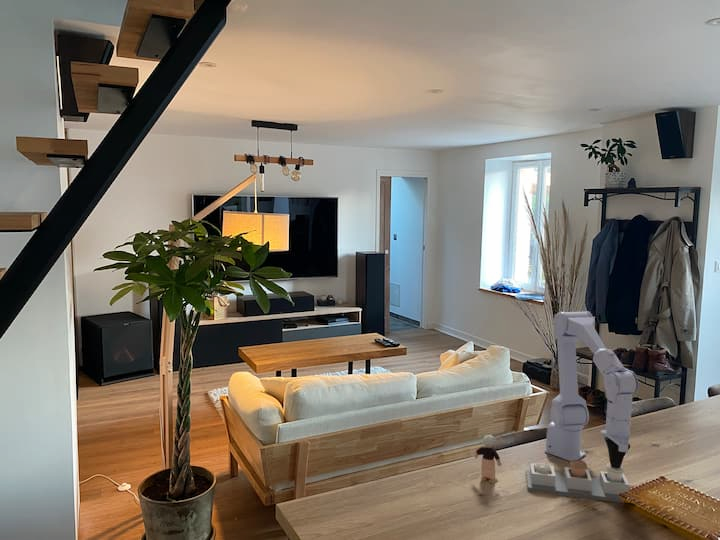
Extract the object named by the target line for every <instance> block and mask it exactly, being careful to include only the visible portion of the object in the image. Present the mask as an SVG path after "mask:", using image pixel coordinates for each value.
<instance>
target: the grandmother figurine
mask: <svg viewBox="0 0 720 540" xmlns="http://www.w3.org/2000/svg"><path fill="white" fill-rule="evenodd" d="M495 441H496V440H495V437H494V436H493V435H492V434H487V435H484V437H483V438H482V441H481V442H482V443H481V444H482V445H484V446H481V447H479V448H478V449H476V450H475V454H474V456H473V457H474V458H475V459H478V457H479V456H482V457H481V465H480V467H481V478H480V480H481V481H484V482H486V481H488V482H489V483H491V484H494V483H497V482H498V481H499V480H498V478H497V477H496V465H498V467H500V466H502V463H501V458H500V455H499V454H498V451H496V449H495V448H493V447H494V443H495ZM496 463H497V464H496Z"/></svg>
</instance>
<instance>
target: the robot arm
mask: <svg viewBox="0 0 720 540" xmlns="http://www.w3.org/2000/svg"><path fill="white" fill-rule="evenodd" d="M553 334H554V336H553V337H554V338H555V340H556V346H557V347H556V348H557V361H558V362H557V363H558V380H559V394H558V395H557V396H555V398H553V399H552V400H551V409H550V415H549V416H550V419H551V421H550V423H549V424H548V426H547V428H546V429H547V430H546V438H545V439H546V443H545V450H544V452H545V453H547V454H550V455H552V456H555V457H557V458H560V459H563V460H566V461H568V462H571V460H575V459H576V460H581V458H582V457H584V456H586V452H585V451H581V446H582V444H581V443H582V429H585V426H586V425H588V422H589V420H590V413H589V409H588V407H587V406H588V405H587V401H586V400H585V398H584V397H582V396H580V395H579V384H578V383H579V382H578V364H577V362H578V361H577V348H576V346H577V345H576V343H577V342H578V341H579V339H582V341H583V342H584V344H585V345H586V346H587V347H588V349H589V350H590V352H591V353H592V354H593V357H592V361H593V363H594V365H595V366H596V367H597V369H598V371H599V372H600V374H601V375H602V377H603V386H604V390H605V399H607V404H606V419H605V420H606V421H605V429H600V435H601V436H604V437H603V438H604V441H605V443H606V447H607V450H608V458H609V464H611V467H615V468H620V467H621V466H622V464H623V461H624V458H625V456H626V454H627V453H629V452H628V451H629V450H630V448H631V445H630V443H629V442H630V440H631V436H632V435H631V423H632V421H631V420H632V407H633V395H634V394H636V393H637V392H638V390H639V386H640V385H639V379H638V377H637V375H636V373H635V372H634V371H633V370H629V369H628V368H626V367H624V365H623V364H622V362H621V361H620V359H619V358H618V357H617V355H616V354H615V352H614V351H613V350H612V349H610V348H606V347H605V344H604V342H603V340H602V339H601V337H600V336H599V334H598V332H597V330H596V320H595V318H594V316H593V314H592V313H591V312H590V311H589V310H584V311H559V312H557V313H556V314H555V316H554V318H553Z"/></svg>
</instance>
